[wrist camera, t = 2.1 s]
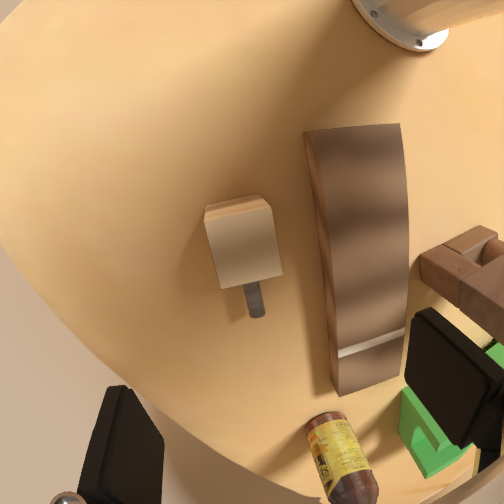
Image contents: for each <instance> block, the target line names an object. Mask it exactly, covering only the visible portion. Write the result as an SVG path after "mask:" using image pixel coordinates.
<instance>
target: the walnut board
mask: <svg viewBox="0 0 504 504" xmlns="http://www.w3.org/2000/svg"><path fill="white" fill-rule="evenodd" d="M303 136H304V142H305V147H306V153H307V159H308V165H309V171H310V177H311V184H312V191H313V197H314V204H315V211H316V219H317V226H318V234H319V242H320V251H321V260H322V269H323V278H324V289H325V299H326V311H327V324H328V337H329V353H330V372H331V382H332V384H333V386H334V388H335V390H336V392H337V394H338V396H339V397H341V396H344V395H347V394H350V393H353V392H356V391H359V390H362V389H365V388H367V387H370V386H373V385H375V384H378V383H381V382H383V381H386V380H388V379H391V378H393V377H396V376H398V375H399V372H400V365H401V358H402V350H403V342H404V335H405V329H406V327H405V323H406V311H407V296H408V275H409V218H408V196H407V182H406V170H405V160H404V151H403V143H402V135H401V128H400V123H396V124H380V125H366V126H355V127H345V128H335V129H327V130H318V131H311V132H304V133H303Z"/></svg>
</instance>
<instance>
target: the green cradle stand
mask: <svg viewBox="0 0 504 504" xmlns="http://www.w3.org/2000/svg"><path fill="white" fill-rule="evenodd" d="M485 353H486V354H488V355H489V356H490V357H491V358H492V359H493V360H494V361H495V362H496V363H498V364H499V365H500V366H501V367H502V368H503V369H504V346H503V345H501V344H500V343H499V342H498V341H497V340H496V343H495V345H494V346H493V347H492V348H490V349H489V350H488V351H486V352H485ZM398 434H399V435H400V437H401V439H402V440H403V442H404V444H405V445H406V447H407V449H408V450H409V452H410V454H411V456H412V457H413V459H414V461H415V462H416V464H417V466H418V468H419V469H420V471H421V473H422V475H423V476H424V478H425V480H426V479H428V478H429V477H431V476H433V475H434V474H436V473H438V472H440V471H441V470H443V469H444V468H446V467H448V466H449V465H451V464H452V463H454V462H455V461H457V460H458V459H460V458H461V456H462V455H463V454H464V453H465V452H466V451H467V450H468V449H469V448H470V447H471V446H472V444H473V443H471V444H470V445H468V446H467V447H465V448H464V449H462V450H460V448H459V447H458V446H457V445H456V446H455V445H453V444H452V443H451V442H450V441H449V439H448V438H447V436H446V435H445V434H444V432H443V431H442V430H441V428H440V427H439V426H438V424H437V423H436V421H435V420H434V419H433V417H432V416H431V415H430V413H429V412H428V411H427V409H426V408H425V407H424V405H423V404H422V403H421V401H420V400H419V399H418V398H417V396H416V395H415V394H414V392H413V391H412V390H411V388H410V387H409V386H407V387H405V388H403V389H402V396H401V409H400V420H399V429H398Z"/></svg>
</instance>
